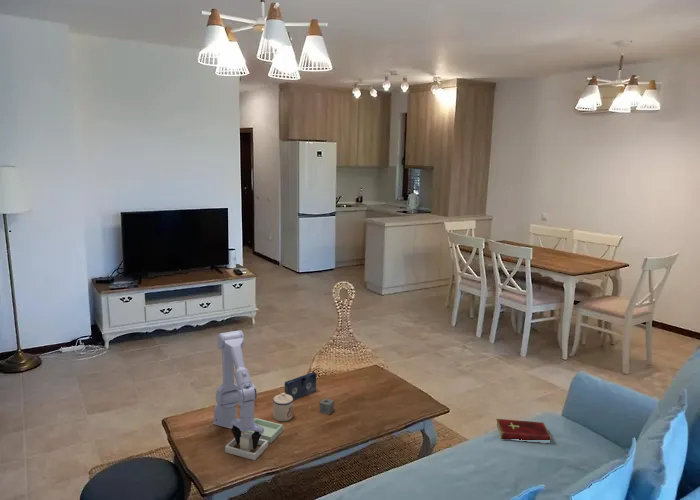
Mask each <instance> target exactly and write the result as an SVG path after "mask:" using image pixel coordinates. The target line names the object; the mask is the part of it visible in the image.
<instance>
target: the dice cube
mask: <svg viewBox="0 0 700 500" xmlns="http://www.w3.org/2000/svg"><path fill="white" fill-rule="evenodd" d="M318 411H319V413H321V414H324V415H328V416H329V415H331V414H332V412H334V411H335V400H334V399H329V398H325V397H324V398H323V399H322V400H321V401H319V409H318Z"/></svg>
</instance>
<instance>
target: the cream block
mask: <svg viewBox="0 0 700 500" xmlns="http://www.w3.org/2000/svg"><path fill="white" fill-rule="evenodd" d="M242 434H243V433H242ZM251 435H252V434H250V433H246V432H245V433H244V434H243V435H242V436H241V437H240V444H239V449H241V450H245V451H248V452H252V450H254V449H253V440H252V437H251Z"/></svg>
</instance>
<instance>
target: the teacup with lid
mask: <svg viewBox="0 0 700 500" xmlns="http://www.w3.org/2000/svg"><path fill="white" fill-rule="evenodd" d="M272 401H273V413H272V414H273V415H272V416H273V419H274V420H275V421H277V422H287V421H289V420H291V419H292V418H293V410H294V409H293V408H294V407H293V403H294V402H293V401H294V400H293V397H292V396H291V395H288V394H285V392H282V393H280V394H277V395H275V396H274V397H273V399H272Z"/></svg>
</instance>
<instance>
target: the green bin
mask: <svg viewBox="0 0 700 500" xmlns="http://www.w3.org/2000/svg"><path fill="white" fill-rule="evenodd" d="M254 423H255V424H257V425H259V426H260V427H263V428H264V433H263V434H261V436H260V438H259V439H263V440H267V441H268V444H272V443H273V442H274V441H275V439H277V437H278V436H280V434H281V433H282V432H283V431H284V424H281V423H278V422H273V421H269V420H265V419H262V418H258V417H254ZM245 432H246V433H250V434H253V433H254V431H244V432H242V434H244V433H245Z"/></svg>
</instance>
